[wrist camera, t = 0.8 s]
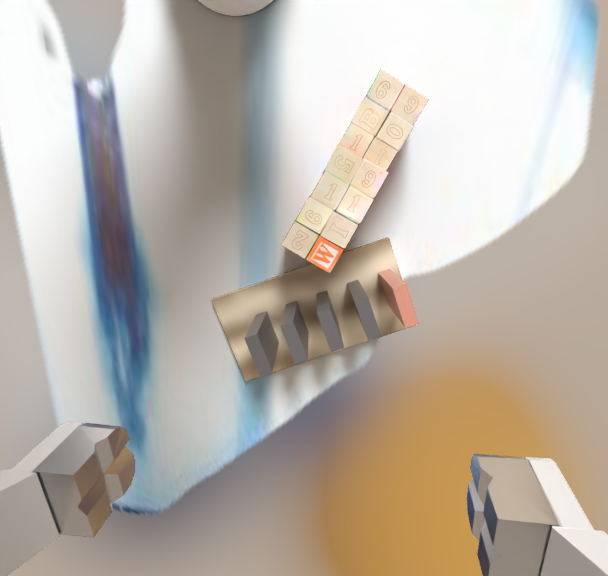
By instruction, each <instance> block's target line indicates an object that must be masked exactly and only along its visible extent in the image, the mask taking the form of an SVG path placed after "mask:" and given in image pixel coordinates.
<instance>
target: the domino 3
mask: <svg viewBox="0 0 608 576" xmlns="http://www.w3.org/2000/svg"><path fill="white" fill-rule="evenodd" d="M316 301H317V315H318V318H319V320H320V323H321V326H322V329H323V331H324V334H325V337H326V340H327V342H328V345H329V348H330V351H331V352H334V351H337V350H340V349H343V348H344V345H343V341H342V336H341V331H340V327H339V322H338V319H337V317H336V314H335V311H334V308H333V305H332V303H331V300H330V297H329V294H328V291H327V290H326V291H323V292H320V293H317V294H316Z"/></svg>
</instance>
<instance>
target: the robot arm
mask: <svg viewBox="0 0 608 576" xmlns="http://www.w3.org/2000/svg"><path fill="white" fill-rule="evenodd" d="M198 1H199V2H200V3H202V4H203V5H204V6H206V7H207V8H209V9H211V10H213V11H215V12H218V13H221V14H224V15H230V16H241V15H247V14H251V13H254V12H257V11H259V10H261V9H263V8H264V7H266V6H267V5H269V4H270V3H271V2H272V1H273V0H198ZM129 440H130V439H129V436H128V433H127V430H126V429H125V428H123V427H119V426H110V425H100V424H91V423H77V422H66V423H63V424H61V425H60V426H59V427H57V428H56V429H55V430H54V431H53V432H52V433H51V434H50V435H49V436H48V437H46V438H45V439H44V440H43V441H42V442H41V443H40V444H39V445H38V446H37V447H35V448H34V449H33V450H32V451H31V452H30V453H29V454H28V455H27V456H26V457H24V459H22V460H21V461H20V462H19V463H18V464H17V465H16V466H15V467H14V468H13V469H11V470H3V471H1V472H0V576H8V575H10V574H11V573H12V572H13V571H15V570H16V569H17V568H19V567H20V566H21V565H23V564H24V563H25V562H27V561H28V560H29V559H31V558H32V557H33V556H35V555H36V554H37V553H39V552H40V551H41V550H43V549H44V548H45V547H46V546H48V545H49V544H51V543H52V542H53V541H54V540H56V539H57V538H58V537H59V536H60V535H59V534H63V535H73V536H83V537H95V535H96V534H97V532H98V531H99V529H100V528H101V527H102V525H103V524H104V523H105V521H106V520H107V518H108V517H109V515H110V514H111V513H112V502H114V501H115V500H117V499H118V498H120V497H122V496H123V495H124V494H125V492H126V491H127V489H128V488H129V486H130V485H131V482H132V479H133V476H134V473H135V459H134V455H133V453H132V452H131V451H130V450H129V449H128V448H127V447H126V445H127V443H128V442H129ZM470 469H471V473H472V476H473V481H471V482H470V483H469V484H468V492H467V510H468V516H469V522H470V527H471V531H472V534H473V535H474V536H475V537H476V538H477V539H478V540H479V547H478V559H479V563H480V567H481V570H482V574H483V576H608V535H607V534H606V533H605V532H603V531H596V530H594V529H593V527H592V525H591V524H590V522H589V520H588V518H587V517H586V515H585V513H584V512H583V510H582V508H581V506H580V504H579V503H578V501H577V499H576V497H575V496H574V494H573V492H572V490H571V489H570V487H569V485H568V483H567V482H566V480H565V478H564V476H563V475H562V473H561V472H560V470H559V468H558V466H557V464H556V463H555V462H554V461H553V460H552V459H548V458H532V457H524V458H522V457H511V456H498V455H484V454H483V455H482V454H473V456H472V459H471V466H470Z"/></svg>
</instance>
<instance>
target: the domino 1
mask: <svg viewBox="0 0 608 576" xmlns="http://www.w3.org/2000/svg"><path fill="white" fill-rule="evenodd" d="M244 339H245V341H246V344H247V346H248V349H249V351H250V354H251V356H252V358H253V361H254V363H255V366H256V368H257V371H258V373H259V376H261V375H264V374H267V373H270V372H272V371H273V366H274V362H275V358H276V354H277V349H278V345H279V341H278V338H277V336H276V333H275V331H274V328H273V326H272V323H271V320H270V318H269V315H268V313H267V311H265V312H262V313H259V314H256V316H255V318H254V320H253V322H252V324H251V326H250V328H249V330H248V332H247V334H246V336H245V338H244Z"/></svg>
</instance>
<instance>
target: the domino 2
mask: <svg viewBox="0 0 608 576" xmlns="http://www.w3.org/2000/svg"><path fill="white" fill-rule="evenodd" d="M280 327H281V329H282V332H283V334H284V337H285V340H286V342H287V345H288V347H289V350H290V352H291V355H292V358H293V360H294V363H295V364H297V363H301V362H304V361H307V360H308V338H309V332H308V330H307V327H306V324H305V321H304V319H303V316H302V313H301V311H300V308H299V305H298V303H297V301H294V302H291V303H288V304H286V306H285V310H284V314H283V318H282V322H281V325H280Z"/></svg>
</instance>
